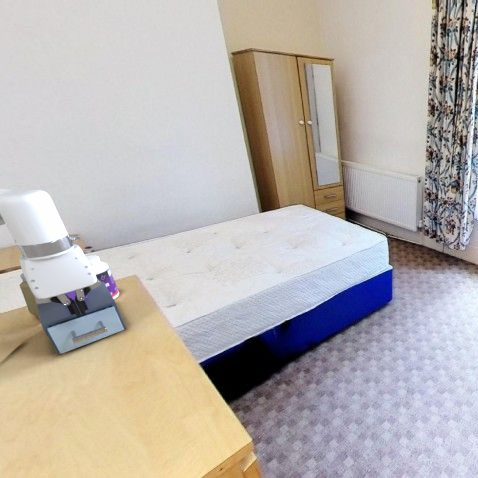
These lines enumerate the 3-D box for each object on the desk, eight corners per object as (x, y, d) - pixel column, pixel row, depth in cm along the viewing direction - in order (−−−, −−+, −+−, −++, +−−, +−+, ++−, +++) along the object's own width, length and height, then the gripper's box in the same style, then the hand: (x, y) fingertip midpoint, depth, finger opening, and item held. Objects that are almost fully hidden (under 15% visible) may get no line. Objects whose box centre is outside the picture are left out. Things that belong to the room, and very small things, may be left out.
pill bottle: (84, 310, 96) (63, 268, 90) (87, 298, 101) (68, 258, 96) (120, 301, 101) (103, 260, 95) (120, 289, 106) (104, 251, 100)
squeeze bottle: (46, 309, 96) (17, 256, 88) (81, 304, 98) (55, 252, 91) (27, 326, 89) (-6, 270, 81) (65, 320, 91) (36, 265, 84)
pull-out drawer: (129, 338, 84) (119, 316, 81) (63, 364, 76) (50, 340, 73) (112, 309, 95) (103, 288, 92) (54, 329, 87) (42, 307, 84)
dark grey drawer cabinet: (126, 328, 89) (114, 301, 86) (58, 355, 80) (41, 325, 76) (114, 307, 98) (103, 281, 94) (51, 328, 88) (36, 300, 85)
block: (87, 298, 87) (80, 283, 85) (63, 305, 83) (55, 290, 81) (84, 291, 89) (78, 277, 87) (61, 298, 86) (53, 284, 84)
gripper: (90, 232, 78) (118, 295, 85) (-8, 252, 67) (33, 322, 74) (96, 240, 74) (125, 306, 81) (-8, 263, 63) (36, 337, 70)
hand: (81, 314), depth 78 cm, fingers closed
